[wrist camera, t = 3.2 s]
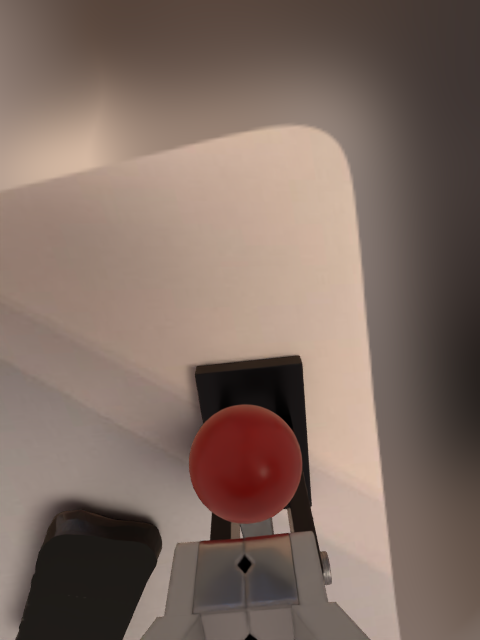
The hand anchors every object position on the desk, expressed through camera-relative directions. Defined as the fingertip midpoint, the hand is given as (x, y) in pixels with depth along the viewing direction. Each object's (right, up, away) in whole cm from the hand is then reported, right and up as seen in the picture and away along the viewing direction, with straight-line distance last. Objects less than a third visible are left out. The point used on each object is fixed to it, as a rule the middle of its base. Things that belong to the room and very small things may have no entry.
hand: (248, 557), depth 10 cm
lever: (0, -2, +8) cm, 8 cm away
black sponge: (-12, -16, +27) cm, 33 cm away
